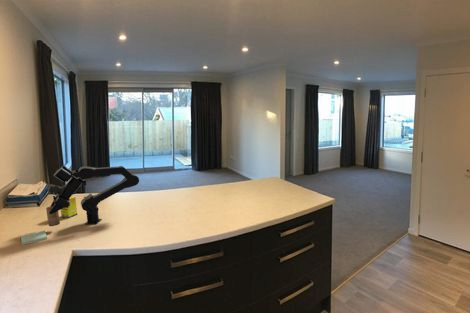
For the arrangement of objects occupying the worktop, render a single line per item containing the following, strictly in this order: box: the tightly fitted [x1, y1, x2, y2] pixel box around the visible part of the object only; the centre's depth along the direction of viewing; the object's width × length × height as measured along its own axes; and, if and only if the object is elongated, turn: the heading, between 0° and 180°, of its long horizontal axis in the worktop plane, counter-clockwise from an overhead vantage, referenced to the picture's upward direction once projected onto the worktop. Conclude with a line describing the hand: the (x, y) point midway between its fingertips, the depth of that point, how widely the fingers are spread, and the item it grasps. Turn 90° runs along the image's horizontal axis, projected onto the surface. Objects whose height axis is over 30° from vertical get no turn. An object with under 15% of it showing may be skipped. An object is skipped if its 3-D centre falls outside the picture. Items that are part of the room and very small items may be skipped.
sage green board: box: [20, 230, 48, 246], centre depth 149 cm, size 10×10×1 cm
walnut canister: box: [45, 205, 61, 227], centre depth 156 cm, size 5×5×9 cm
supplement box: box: [60, 196, 78, 219], centre depth 178 cm, size 6×6×11 cm
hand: (49, 212), depth 155 cm, fingers closed on walnut canister, 5 cm apart
